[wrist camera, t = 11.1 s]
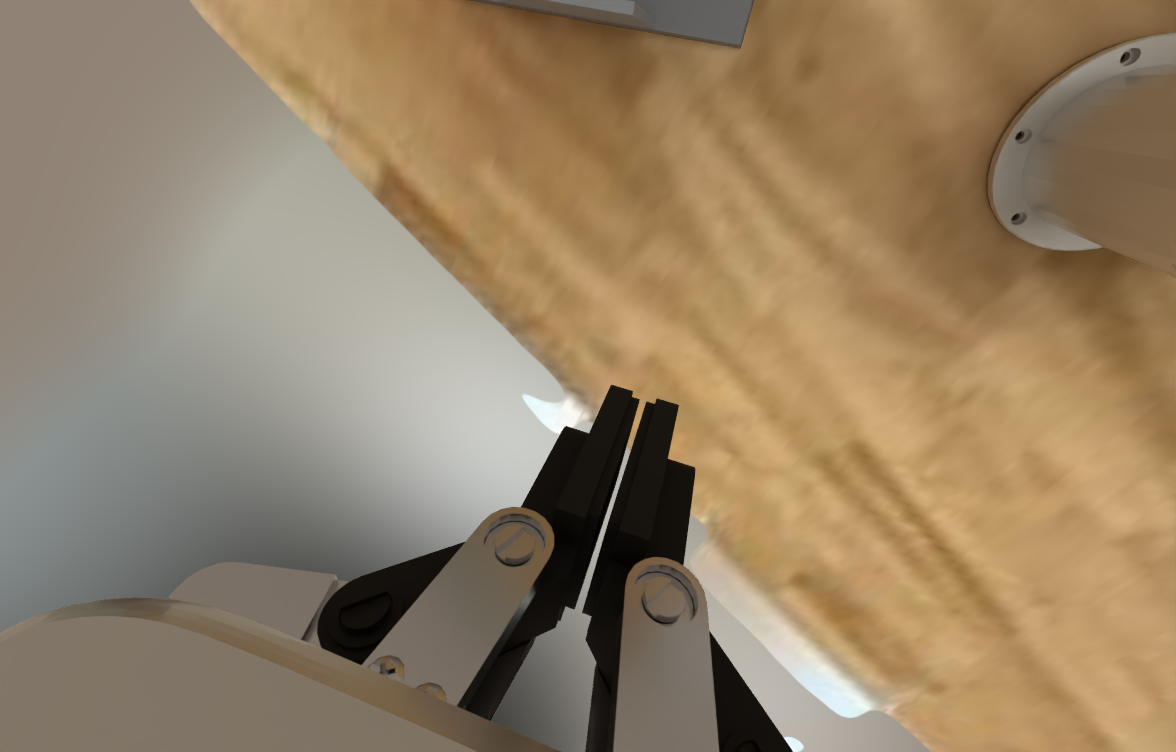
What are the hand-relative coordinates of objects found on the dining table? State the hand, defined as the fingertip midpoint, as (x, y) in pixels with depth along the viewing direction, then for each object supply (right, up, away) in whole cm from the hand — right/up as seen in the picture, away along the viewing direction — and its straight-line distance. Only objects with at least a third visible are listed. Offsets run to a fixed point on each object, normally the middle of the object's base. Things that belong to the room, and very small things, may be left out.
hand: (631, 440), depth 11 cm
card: (-1, +27, +20) cm, 34 cm away
